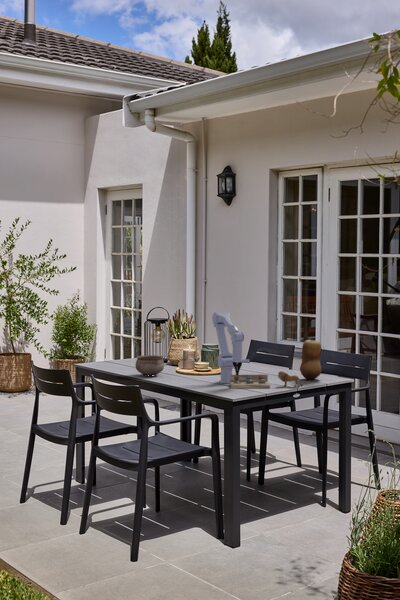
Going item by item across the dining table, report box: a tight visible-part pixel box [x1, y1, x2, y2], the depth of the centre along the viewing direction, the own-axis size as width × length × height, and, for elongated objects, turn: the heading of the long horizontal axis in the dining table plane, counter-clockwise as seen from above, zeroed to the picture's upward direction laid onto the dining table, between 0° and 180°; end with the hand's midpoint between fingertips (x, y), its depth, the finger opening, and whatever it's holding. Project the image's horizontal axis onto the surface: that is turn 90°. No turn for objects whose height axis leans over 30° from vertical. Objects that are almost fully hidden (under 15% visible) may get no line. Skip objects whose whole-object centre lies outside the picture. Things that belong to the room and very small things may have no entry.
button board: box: [229, 374, 271, 389], centre depth 476 cm, size 14×23×6 cm, turn 92°
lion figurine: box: [277, 370, 304, 388], centre depth 476 cm, size 15×5×9 cm, turn 81°
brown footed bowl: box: [135, 354, 165, 377], centre depth 517 cm, size 25×19×12 cm
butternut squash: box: [299, 339, 322, 381], centre depth 502 cm, size 14×13×25 cm
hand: (237, 374), depth 475 cm, fingers closed
